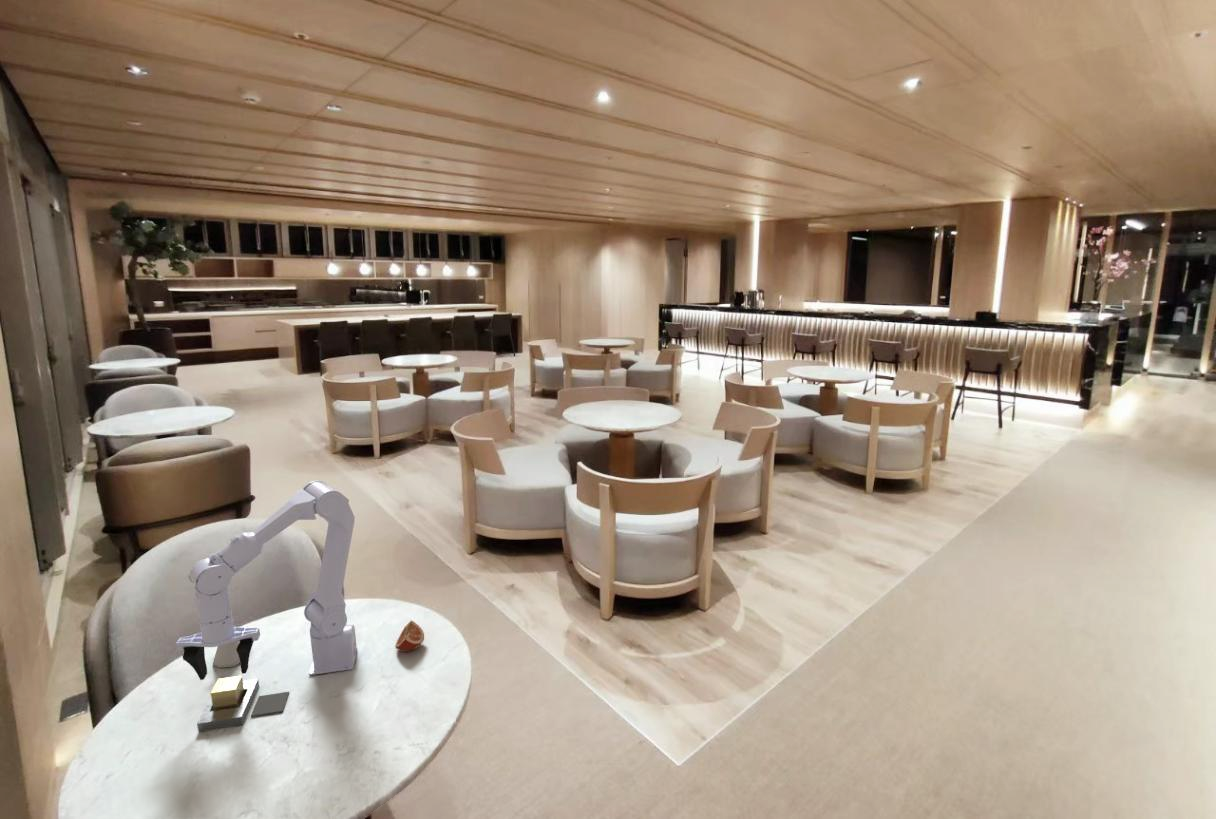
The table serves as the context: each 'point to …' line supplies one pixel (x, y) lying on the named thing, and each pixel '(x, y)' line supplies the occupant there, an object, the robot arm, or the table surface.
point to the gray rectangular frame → (228, 711)
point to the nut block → (228, 693)
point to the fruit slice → (410, 637)
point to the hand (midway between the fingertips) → (224, 673)
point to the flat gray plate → (270, 704)
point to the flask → (227, 655)
